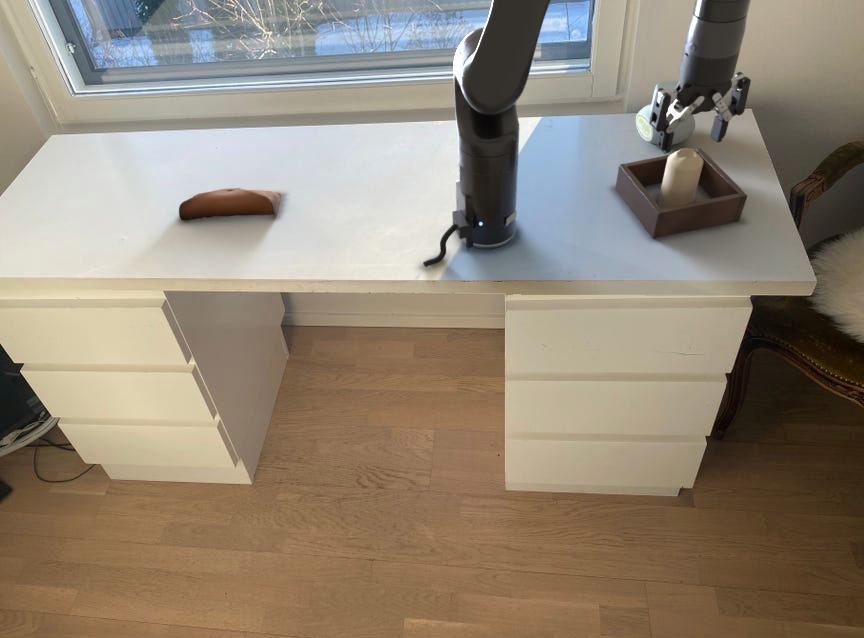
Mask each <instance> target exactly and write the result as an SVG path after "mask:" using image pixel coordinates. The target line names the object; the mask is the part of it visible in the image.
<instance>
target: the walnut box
mask: <svg viewBox="0 0 864 638" xmlns="http://www.w3.org/2000/svg"><path fill="white" fill-rule="evenodd" d="M693 150H694V151H695V152H696V153H697V154H698V155H699V156H700V157H701V158H702V159H703V166H702V170H701V174H700V177H699V181H698V185H699V186H700V187H701V188H702V189H703V191H704V192H706V193H707V195H708V196H709V197H710V198H707V199H704V200H698V201H693V203H688V204H683V205H678V206H674V207H669V208H664V209H662V208H661V207H660V206H659V203H657V202H656V200H655V199H654V197H653V196H652V195H651V194H650V193H649V191H648V190H647V189H646V187H650V186H654V185H660V184H662V182H663V177H664V173H665V168H666V164H667V159H668V157H669V156H670V155H671V154H667V155H666V154H665V155H661V156H657V157H651V158H646V159H641V160H637V161H631V162H627V163H620V164H618V170H617V176H616V182H615V187H614V188H615V191H616V192H617V193H618V195H619V196H620V198H621V199H622V200H623V201H624V202H625V204H626V205H627V206H628V208H629V209H630V210H631V212H632V213H633V214H634V216H635V217H636V219H637V220H638V221H639V222H640V224H641V225H642V226H643V228H644V229H645V230H646V231H647V233H648V234H649V235H650V237H651V238H652V239H657V238H658V239H659V238H662V237H667V236H672V235H677V234H683V233H687V232H692V231H697V230H701V229H706V228H712V227H714V226H716V227H717V226H721V225H725V224H730V223H736V222H740V220H741V217H742V214H743V211H744V208H745V204H746V201H747V198H748V194H747V193H746V192H745V191H744V190H743V189H742V188H741V187H740V186H739V185H738V184H737V183H736V182H735V181H734V180H733V179H732V178H731V177H730V176H729V174H727V173H726V172H725V171H724V170H723V169H722V168H721V167H720V166H719V165H718V164H717V163H716V162H715V160H713V159H712V158H711V157H710V156H709V155H708V153H707V152H706V151H704V149H703V148H696V149H693Z"/></svg>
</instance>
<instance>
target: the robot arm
mask: <svg viewBox="0 0 864 638" xmlns="http://www.w3.org/2000/svg"><path fill="white" fill-rule="evenodd" d="M751 1H752V0H695V1H694V7H693V11H692V15H691V18H690V21H689V24H688V27H687V31H686V37H685V42H684V47H683V52H682V57H681V63H680V68H679V72H678V73H679V75H678V77H679V78H678V79H679V80H678V82H679V83H678V85H677V87H676V88H675V89H672V90H664V89H663V88H659V89H658V90H657V91H656V95H655V99H654V104H653V108H652V112H651V116H650V121H649V124H650V125H651V126H653V128H654V129H655V130H656V131H657V132H660V134H659V139H658V145H657V146H658V148H659V149H660V150H661V151H662V153H663V154H665V155H666V154H670V153H671V150H672V145H673V144H672V141H673V136H674V132H673V131H674V129H675V128H676V127H677V126H678V125H679V124H680V123H681V122H684V121H685V120H686V119H687V118H688V117H689V115H690V114H691V115H693V116H694V115H697V114H700V113H708V112H712V110H713V109H714V111H715V113H716V114H717V115H715V116H714V118H713V123H712V127H711V131H710V140H712V141H713V142H714V143H715V144H717V143H718V144H719V143H721V142H722V141H723V139H724V138H725V136H726V134H727V130H728V127H729V123H730V121H732V118H733V117H735V116H741V115H743V114H744V112H745V108H746V105H747V101H748V95H749V91H750V87H751V82H752V80H751V78H750V77H748V76H747V75H746V74H745V73H743V72H741V71H737V72H736V68H737V64H738V61H739V56H740V53H741V49H742V44H743V40H744V37H745V33H746V29H747V28H746V27H747V18H748V13H749V9H750V5H751ZM551 2H552V0H492V2H491V7H490V10H489V14H488V17H487V21H486V23H485V25H484V27H480V28H477V29H474V30H473V31H471V32H469V33H468V34H467V35H466V36H465V37H464V38H463V39H462V40H461V42H460V44H459V45H458V47H457V49H456V52H455V55H454V58H453V59H454V60H453V89H454V90H453V92H454V111H455V115H454V116H455V122H456V128H457V129H456V130H457V139H458V141H457V142H458V178H459V179H457V180H456V181H455V199H456V200H455V201H456V205H455V206H456V210H454V211H452V213H451V215H452V224H451V226H450V227H449V228H447V230H446V231H445V232H444V233H443V235H442V236H441V238H440V242H439V249H440V250H439V253H438V254H437V256H435V257H433V258H430V259H427V260H425V261H423V262H422V265H423V266H424V267H425V268H428V267H430V266H432V265H436V264H438V263H440V262H441V261H442V260H444V258H445V256H446V255H447V242H448V240H449V238H450V237H451V236H452V235H453V234H454V233H455V232H456V234H457V236H458V239H459V240H462V241H463V244H464V246H465V248H467V249H468V248H475V249H482V250H492V249H493V250H494V249H498V248H501V247H503V246H506V245H508V244H509V243H510V242H511V241H513V240H514V238H515V236H516V230H517V229H516V223H517V222H516V218H517V192H518V172H519V171H518V169H519V150H520V122H519V117H518V110H517V101H518V100H519V99H520V98H521V96H522V94H523V92H524V91H525V88H526V85H527V83H528V80H529V76H530V73H531V68H532V65H533V60H534V56H535V52H536V49H537V45H538V42H539V37H540V34H541V30H542V27H543V23H544V21H545V18H546V15H547V12H548V9H549V6H550V4H551ZM730 90H731V92H730V97H729V102H728V105H727V103H726V101H725V100H724V97H725V96H726V95H727V94H728V92H729V91H730ZM675 98H676V100H675V101H674V102H673V104H672V101H673V100H674V99H675ZM669 106H670V107H669ZM680 106H681V107H682V108H683V109H684V110H683V111H682V112H681V113H680V112H679V111H678V110H679V108H680ZM673 118H674V119H673ZM672 119H673V120H672ZM671 120H672V121H671ZM670 121H671V122H670ZM669 122H670V123H669Z"/></svg>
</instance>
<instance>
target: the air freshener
mask: <svg viewBox="0 0 864 638" xmlns="http://www.w3.org/2000/svg"><path fill="white" fill-rule="evenodd" d="M678 83H679V80H678V81H677V80H665V81H661V82H659V83H658V84H656V86H655V87H654V92H653V96H652V100H651V103H649V104H647V105H645V106H644V107H642V108H641V109H640V110H639V111H638V113H637V114H636V116H635V127H636V129H637V132H638V134H639V135H640V137H641V138H642V139H643V140H644V141H646V142H647V143H650V144H653V145H657V146H658V139H659V134H660V132H657V131H656V130H655V129H654V128H653V126H651V125H650V124H649V121H650V116H651V112H652V108H653V104H654V99H655V95H656V91H657V90H658V89H659V88H663V89H664V90H672V89H675V88H676V87H677V85H678ZM675 100H676V98H675V99H674V100H673V101H672V104H673V102H674V101H675ZM669 107H670V106H669ZM683 110H684V109H683V108H682V107H681V106H680V108H679V110H678V111H679V112H680V113H681V112H682V111H683ZM673 119H674V118H673ZM673 119H672V120H673ZM672 120H671V121H672ZM671 121H670V122H671ZM670 122H669V123H670ZM695 129H696V120H695V117H694V115H691V114H690V115H689V117H688V118H687V119H686V120H685V121H684V122H681V123H680V124H679V125H678V126H677V127H676V128H675V129H674V131H673V132H674V136H673V141H672V145H676V144H679V143H681V142H684V141H685V140H687V139H688V138H690V137H691V136H692V135H693V133H694V132H695Z"/></svg>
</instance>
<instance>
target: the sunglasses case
mask: <svg viewBox="0 0 864 638" xmlns="http://www.w3.org/2000/svg"><path fill="white" fill-rule="evenodd" d="M281 198H282V194H281V193H280V192H277V191H274V190H266V189H265V190H264V189H263V190H262V189H244V188H240V187H237V188H236V187H233V188H232V187H229V188H221V189H220V188H219V189H215V190H210V191H207V192H206V191H205V192H200V193H197V194H195V195H194V196H192V197H190V198H188V199H186V200H184V201H182V202H181V203H180V204H179V206H178V214H179V215H178V217H179V219H180V221H190V220H191V221H192V220H199V219H200V220H201V219H210V218H215V217H216V218H222V217H248V216H278V213H279V209H280V205H281V200H282V199H281Z"/></svg>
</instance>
